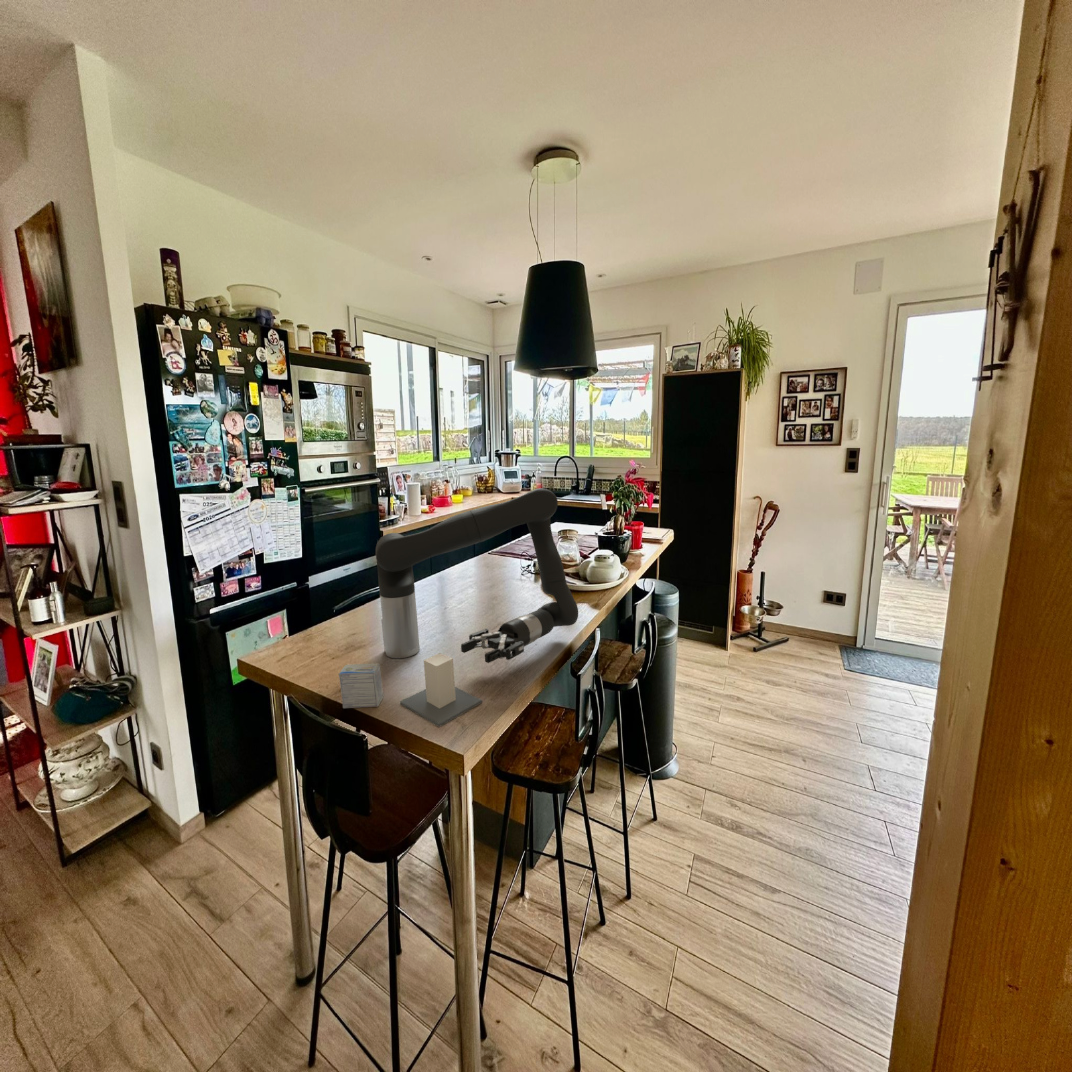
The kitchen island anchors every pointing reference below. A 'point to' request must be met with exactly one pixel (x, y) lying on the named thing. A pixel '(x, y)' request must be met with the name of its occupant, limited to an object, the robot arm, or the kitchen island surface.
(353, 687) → the medicine box
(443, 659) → the cream block
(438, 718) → the slate mat
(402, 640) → the robot arm
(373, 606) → the kitchen island surface
